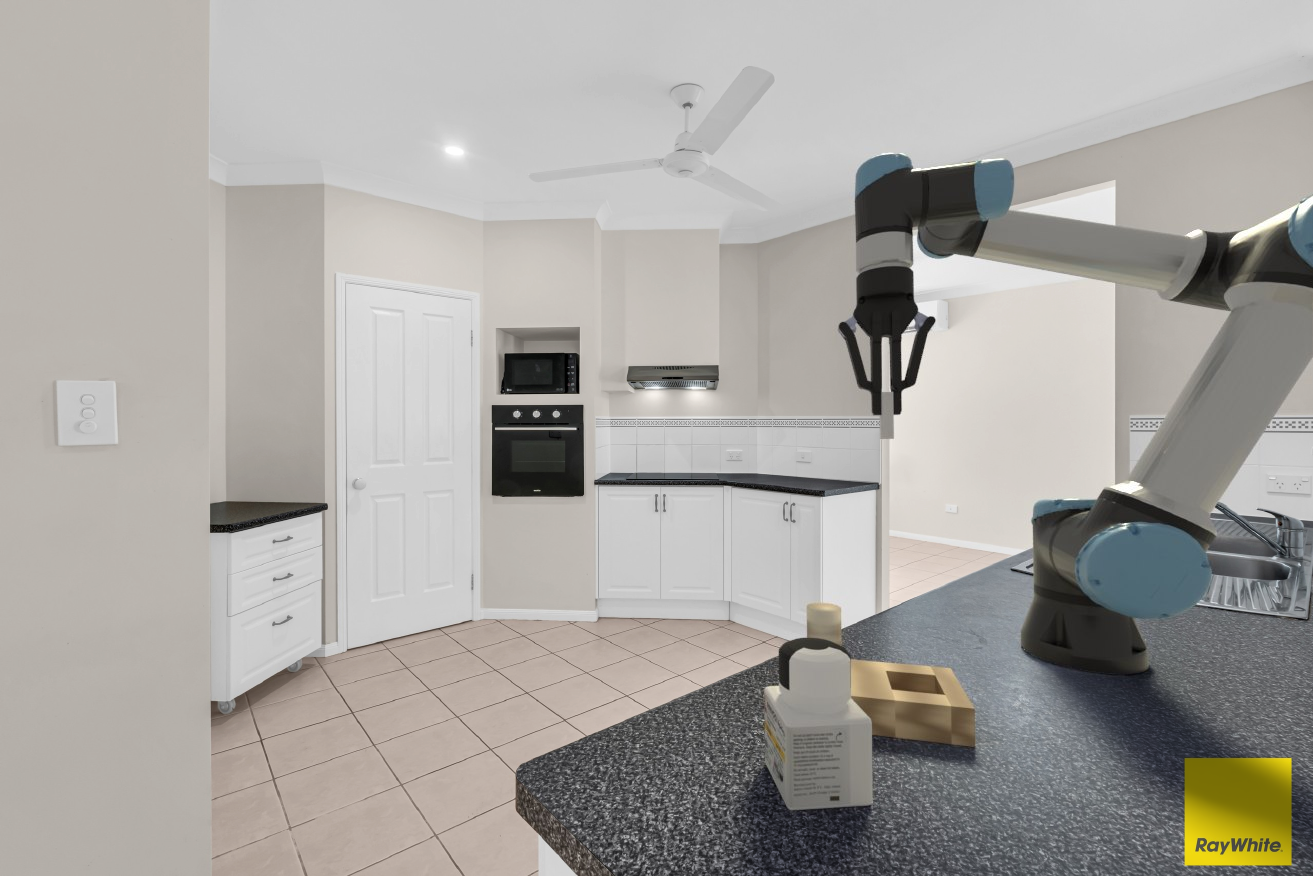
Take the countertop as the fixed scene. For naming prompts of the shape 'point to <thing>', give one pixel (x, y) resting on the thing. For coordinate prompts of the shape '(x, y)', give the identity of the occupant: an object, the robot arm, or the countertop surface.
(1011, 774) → the countertop surface
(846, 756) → the container
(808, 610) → the peg
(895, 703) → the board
